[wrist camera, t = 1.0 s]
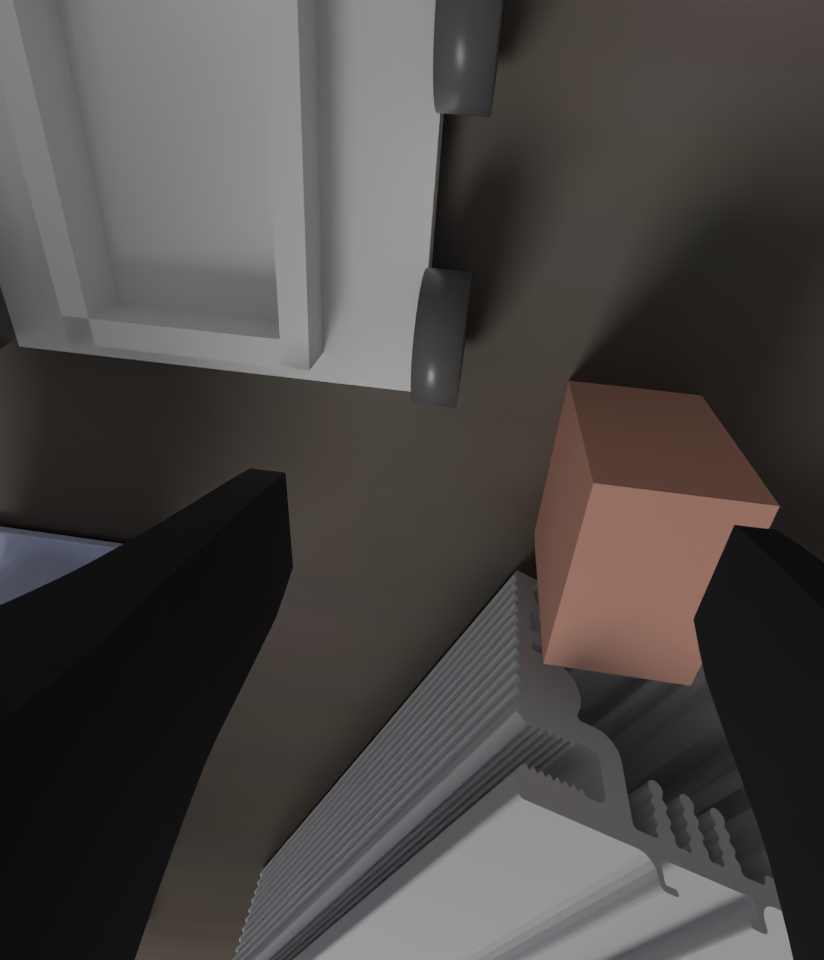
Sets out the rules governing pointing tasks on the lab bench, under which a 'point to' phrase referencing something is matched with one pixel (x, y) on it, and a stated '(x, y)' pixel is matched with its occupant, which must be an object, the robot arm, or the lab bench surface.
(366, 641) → the lab bench surface
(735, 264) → the lab bench surface
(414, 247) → the chassis
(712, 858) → the aluminum extrusion profile
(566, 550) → the terracotta rectangular block
